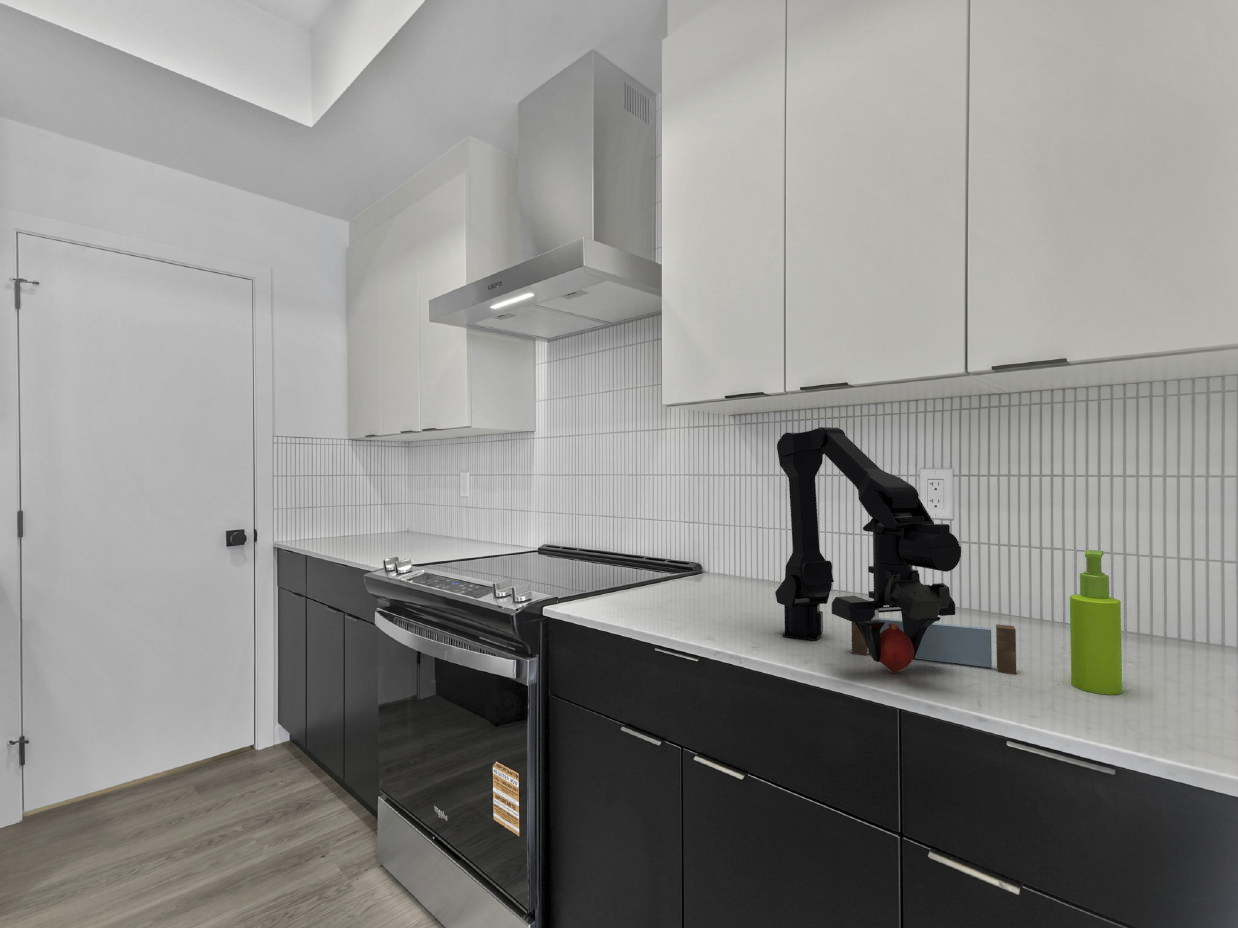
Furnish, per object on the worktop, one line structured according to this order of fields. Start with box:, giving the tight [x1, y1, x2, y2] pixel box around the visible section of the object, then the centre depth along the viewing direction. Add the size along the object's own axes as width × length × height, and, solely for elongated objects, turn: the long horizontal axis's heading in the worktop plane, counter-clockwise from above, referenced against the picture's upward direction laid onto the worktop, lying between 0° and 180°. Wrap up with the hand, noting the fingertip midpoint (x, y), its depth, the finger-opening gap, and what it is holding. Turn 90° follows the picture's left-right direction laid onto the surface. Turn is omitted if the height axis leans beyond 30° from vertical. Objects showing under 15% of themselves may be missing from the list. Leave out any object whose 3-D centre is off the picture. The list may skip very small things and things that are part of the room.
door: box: [867, 617, 993, 668], centre depth 102 cm, size 18×1×6 cm, turn 63°
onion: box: [879, 623, 915, 674], centre depth 96 cm, size 6×6×8 cm
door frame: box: [850, 621, 1017, 675], centre depth 101 cm, size 24×3×7 cm, turn 63°
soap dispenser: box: [1069, 549, 1123, 696], centre depth 89 cm, size 6×7×20 cm
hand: (893, 659), depth 96 cm, fingers closed on onion, 6 cm apart
